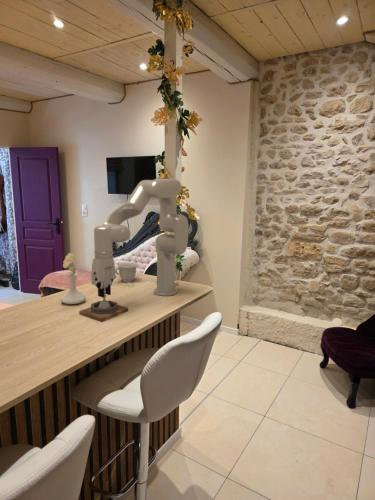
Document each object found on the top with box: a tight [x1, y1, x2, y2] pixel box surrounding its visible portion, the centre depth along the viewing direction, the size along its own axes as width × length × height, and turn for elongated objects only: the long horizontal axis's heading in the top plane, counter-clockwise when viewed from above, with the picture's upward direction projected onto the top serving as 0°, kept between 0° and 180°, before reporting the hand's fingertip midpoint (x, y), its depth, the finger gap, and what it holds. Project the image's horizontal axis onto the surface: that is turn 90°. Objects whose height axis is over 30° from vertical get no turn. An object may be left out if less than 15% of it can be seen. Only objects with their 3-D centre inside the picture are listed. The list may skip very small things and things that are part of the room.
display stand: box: [78, 300, 129, 323], centre depth 148 cm, size 16×14×4 cm
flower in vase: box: [60, 252, 87, 305], centre depth 158 cm, size 13×11×25 cm
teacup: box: [115, 262, 139, 283], centre depth 197 cm, size 12×15×10 cm
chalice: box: [99, 268, 112, 309], centre depth 147 cm, size 7×7×18 cm
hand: (104, 295), depth 147 cm, fingers closed on chalice, 3 cm apart
